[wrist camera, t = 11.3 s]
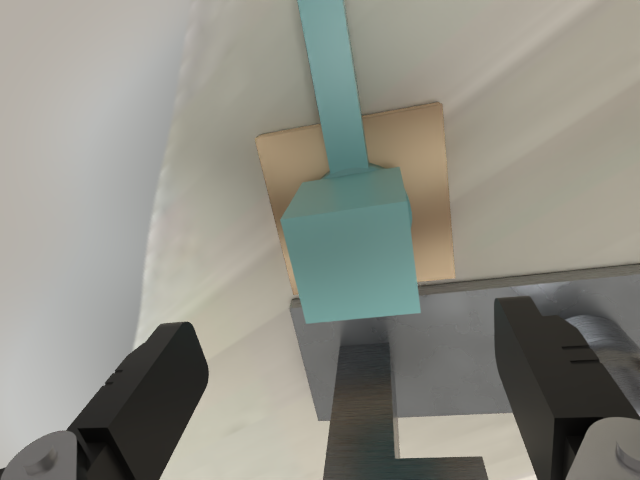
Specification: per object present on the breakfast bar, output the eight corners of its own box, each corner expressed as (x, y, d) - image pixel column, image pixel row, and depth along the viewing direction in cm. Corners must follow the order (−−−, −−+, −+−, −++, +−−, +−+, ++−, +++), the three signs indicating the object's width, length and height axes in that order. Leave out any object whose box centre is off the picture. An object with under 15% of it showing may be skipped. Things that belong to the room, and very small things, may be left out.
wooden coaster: (260, 134, 21) (254, 138, 20) (438, 102, 20) (442, 104, 18) (297, 284, 25) (293, 294, 24) (451, 267, 23) (455, 278, 22)
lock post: (292, 299, 25) (245, 435, 16) (660, 262, 21) (871, 411, 12) (320, 409, 28) (294, 573, 19) (642, 393, 25) (796, 588, 16)
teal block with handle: (383, -19, 17) (387, -58, 11) (415, 251, 22) (429, 318, 16) (263, 11, 18) (212, -11, 12) (319, 262, 22) (300, 330, 17)
